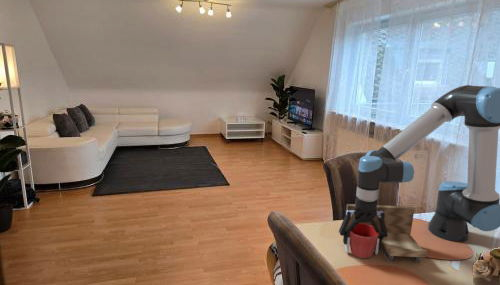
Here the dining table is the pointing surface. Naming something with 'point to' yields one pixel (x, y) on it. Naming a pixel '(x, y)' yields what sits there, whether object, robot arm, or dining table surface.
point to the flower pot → (363, 240)
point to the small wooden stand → (401, 247)
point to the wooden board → (391, 218)
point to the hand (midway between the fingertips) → (360, 251)
